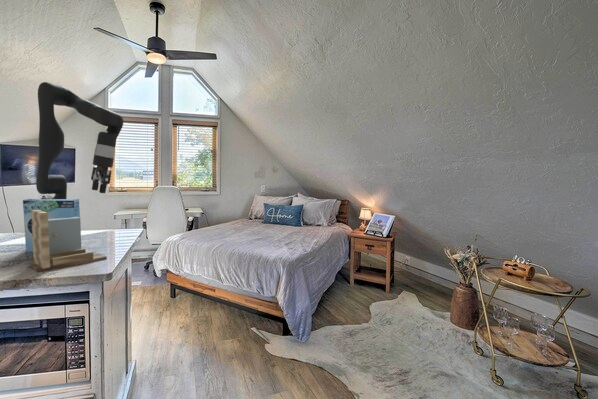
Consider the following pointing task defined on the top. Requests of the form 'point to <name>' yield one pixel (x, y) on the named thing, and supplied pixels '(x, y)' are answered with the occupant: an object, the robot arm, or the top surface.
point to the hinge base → (55, 260)
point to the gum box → (54, 210)
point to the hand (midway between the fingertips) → (98, 191)
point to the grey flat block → (64, 234)
